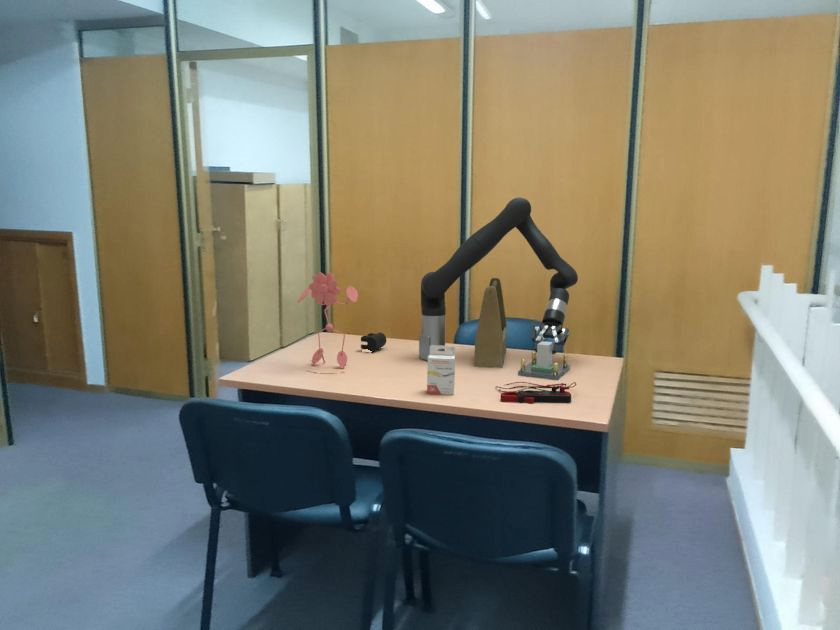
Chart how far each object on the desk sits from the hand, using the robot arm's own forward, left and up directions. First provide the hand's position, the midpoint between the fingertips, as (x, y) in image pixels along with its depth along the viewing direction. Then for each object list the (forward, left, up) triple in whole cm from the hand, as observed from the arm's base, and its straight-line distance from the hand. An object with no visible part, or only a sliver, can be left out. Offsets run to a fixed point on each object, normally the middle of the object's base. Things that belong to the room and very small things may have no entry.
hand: (544, 352), depth 236 cm
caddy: (-2, +27, -8) cm, 28 cm away
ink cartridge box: (-46, -1, -8) cm, 46 cm away
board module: (0, 0, -6) cm, 6 cm away
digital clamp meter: (-21, -18, -8) cm, 29 cm away
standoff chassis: (0, 0, -7) cm, 7 cm away
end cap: (-33, +64, -8) cm, 72 cm away
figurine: (-63, +47, -8) cm, 79 cm away
